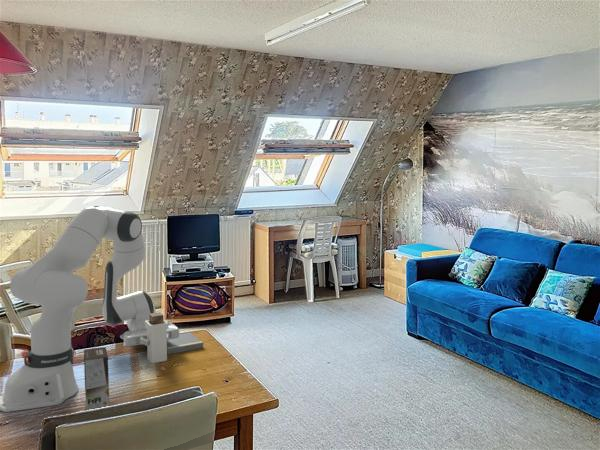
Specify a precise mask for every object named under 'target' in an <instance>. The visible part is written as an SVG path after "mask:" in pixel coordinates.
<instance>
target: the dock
mask: <svg viewBox="0 0 600 450" xmlns="http://www.w3.org/2000/svg"><path fill="white" fill-rule="evenodd" d="M202 348H204V342H203V340H202V341H201V340H200V339H199V338H198V337H196V336H195V335H194V334H193V333H191V332H186V333H179V337H178V338H175V339H169V342H167V355H170V354H171V355H172V354H177V353H181V352H187V351H192V350H198V349H202Z"/></svg>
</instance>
